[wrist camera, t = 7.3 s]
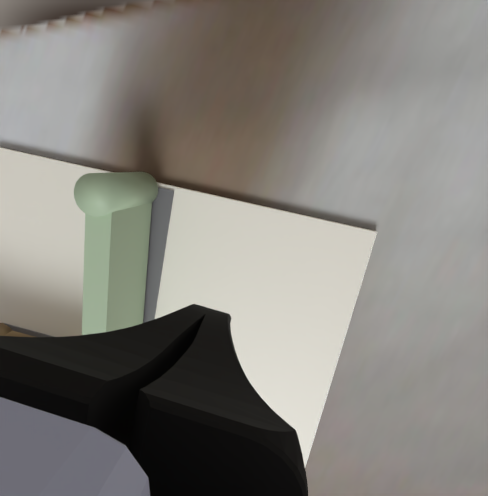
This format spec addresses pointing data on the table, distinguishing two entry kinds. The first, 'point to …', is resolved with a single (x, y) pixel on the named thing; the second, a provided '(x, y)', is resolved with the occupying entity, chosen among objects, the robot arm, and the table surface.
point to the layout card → (194, 276)
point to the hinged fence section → (115, 247)
